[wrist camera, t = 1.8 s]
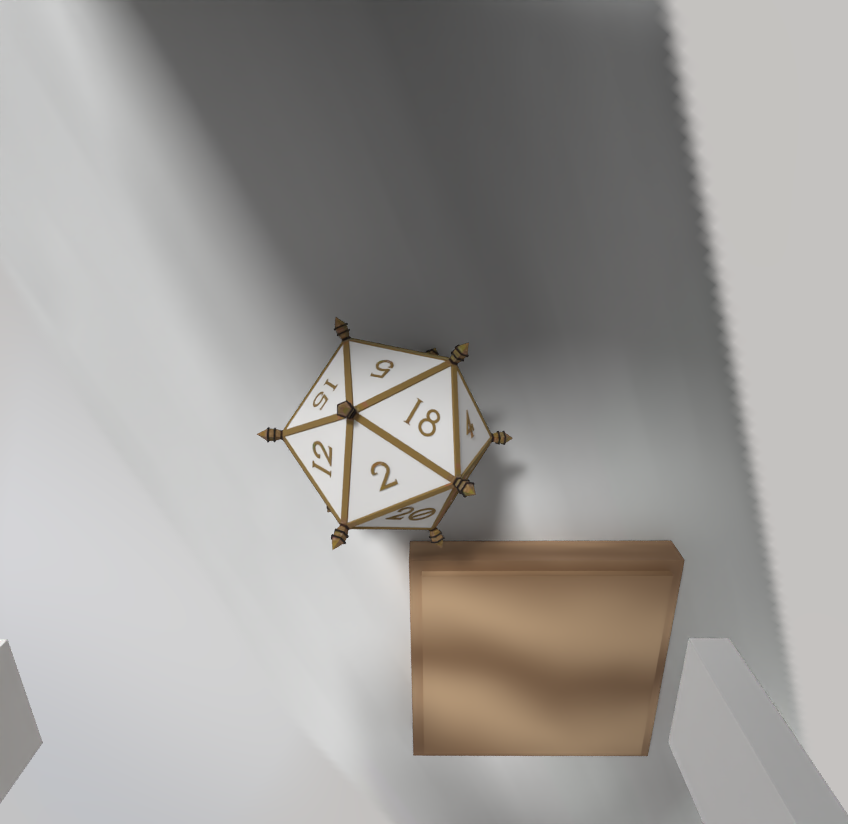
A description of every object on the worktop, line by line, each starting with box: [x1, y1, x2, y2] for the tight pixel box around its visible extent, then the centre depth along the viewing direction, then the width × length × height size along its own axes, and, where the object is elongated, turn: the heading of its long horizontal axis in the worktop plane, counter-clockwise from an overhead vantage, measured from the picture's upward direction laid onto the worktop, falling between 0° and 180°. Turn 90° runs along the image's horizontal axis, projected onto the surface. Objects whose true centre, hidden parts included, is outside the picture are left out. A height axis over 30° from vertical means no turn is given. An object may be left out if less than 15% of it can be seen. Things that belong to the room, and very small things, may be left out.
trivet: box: [409, 541, 684, 756], centre depth 30 cm, size 13×13×2 cm
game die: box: [257, 317, 512, 549], centre depth 22 cm, size 9×8×10 cm
